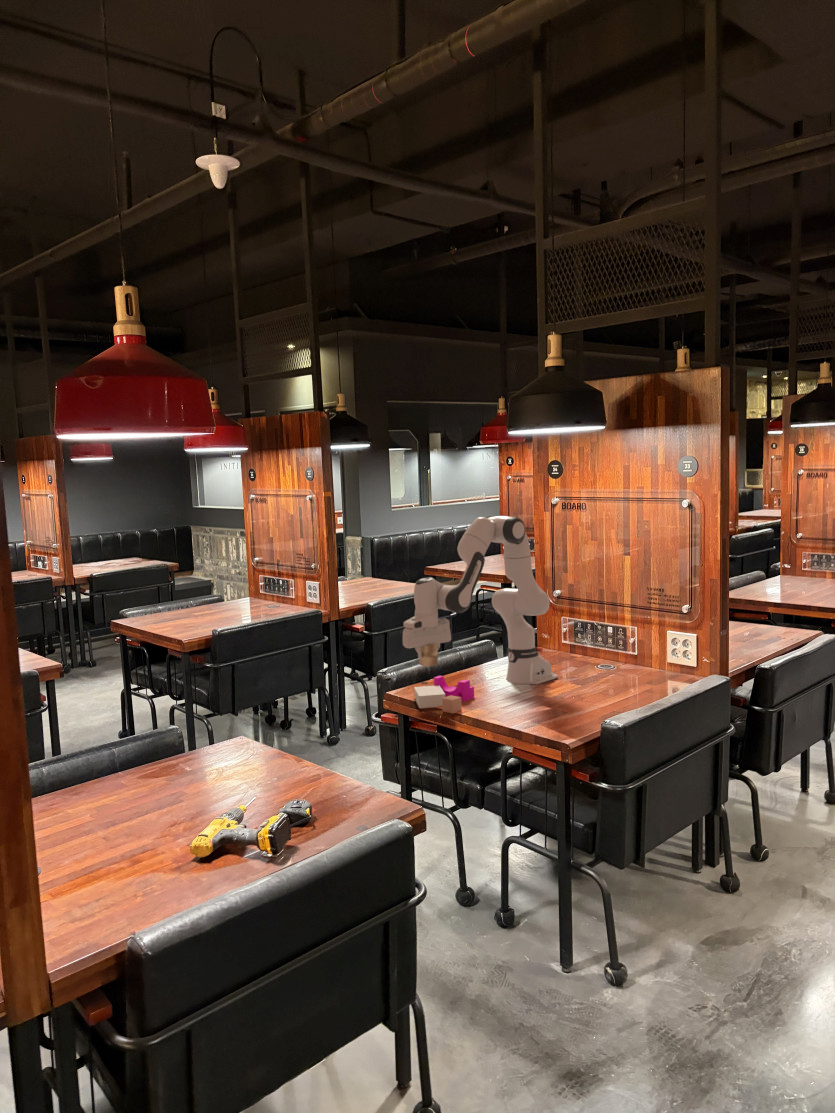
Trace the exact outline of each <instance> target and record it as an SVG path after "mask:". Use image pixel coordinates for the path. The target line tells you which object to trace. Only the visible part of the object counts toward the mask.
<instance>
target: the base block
mask: <svg viewBox="0 0 835 1113" xmlns="http://www.w3.org/2000/svg"><path fill="white" fill-rule="evenodd" d="M413 693H414V700H415V699H416V700H415V703H416V705H417V706H418V708H419V709H429V708H437V707H436V706H442V698H444V697H445V693H444V691H443V690H442V688H441V687H440V685H434V684H433V685H423V686H414V687H413Z"/></svg>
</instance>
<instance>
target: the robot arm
mask: <svg viewBox="0 0 835 1113" xmlns="http://www.w3.org/2000/svg"><path fill="white" fill-rule="evenodd" d="M529 542H530V541H529V538H528V534H527V533H526V525H525V523H524V521H523V520H522V519H521V518H519V517H516V516H508V515H497V516H491V515H489V516H485V517H484V516H480V517H476V518H475V519H474V520H473V521H472V523H471V524H470V525H468V527H467V529H466V530H465V531H464V533H463V535H462V537H461V538H460V540H459V541H458V545H457V548H456V549H457V553H458V556H459V558H460V559H461V560H462V561H463V562H464V563H466V568H465V570H464V573H463V575H462V577H461V579H460V581H459V582H458V583H457V584H456V585H450V584H446V583H445V584H444V583H442V582H439V581H438V580H436V579H435V578H433V577H423V578H420V579H418V580H417V581H416V582H415V583H414V590H413V601H414V602H413V603H414V606H415V609H414V616H412V617H410V618H409V619H407V620H405V621H404V622H403V624H402V625H403V627H404V628H403V630H402V646H403V647H404V648H406V649H413V648H414V650H415V651H416V653H417V658H418V659H419V658H424V656H423V655H424V653H421V651H420V649H421V646H424V645H430V644H437V656H439V652H438V651H439V649H440V647H441V644H444V643H450V642H451V640H452V634H451V633H452V632H451V628H450V627H451V623H450V620H449V619H447V618H446V617H444V618H439V611H438V610H443V611H449V612H452V613H456V614H462V613H464V612H466V611H468V610H469V608H470V606H471V603H472V599H473V595H474V591H475V590H476V589H475V588H476V586H477V584H478V581H479V579H480V577H481V575H482V574H481V573H482V572H483V568H484V566H485V561H486V560H485V559H486V558H485V555H486V553H487V550H488V548H489V546H490V545H491V543H497V544H502V545H503V559H504V560H503V561H504V574H505V576H506V577H507V579H508V580H510V581H511V582H512V583H514V585H515V586H516V588H515V587H514V588H512V587H505V588H501V589H497V590H496V591H495V592H494V593H493V595H492V597H491V605H492V607H493V609H494V610H495V611H496V613H498V615H500V617H501V618H502V620H503V622H504V624H505V626H506V631H507V638H508V639H507V640H508V641H507V642H508V647H507V660H508V664H507V672H506V678H505V681H506V680H507V682H508V683H510V682H511V683H510V684H517V685H540V684H542V683H545V682H548V681H552V680H555V679H557V678H558V674H556V673H554V672H553V671H552V670H553V669H552V666H551V664H550V662H549V661H548V660H546V659H545V658H543V657H542V656H541V655H540V654H539V653H542V652H543V651H544V648H543V647H540V646H536V645H535V644H536V643H535V642H536V639H535V638H536V635H535V629H534V627H533V626H532V625H531V624H529V623H528V622H527V621H526V619H525V618H524V616H529V617H530V616H531V617H532V616H533V617H534V616H542V615H545V614H546V613H547V611H549V608H550V603H551V602H550V597H549V595H548V593H546V591H544V590H543V589H542V588H541V587H540V586H539V584H538V583H537V581H536V579H535V577H534V574H533V568H532V567H533V566H532V558H531V557H532V556H531V555H532V553H531V547H530V543H529Z"/></svg>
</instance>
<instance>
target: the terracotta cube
mask: <svg viewBox="0 0 835 1113" xmlns="http://www.w3.org/2000/svg"><path fill="white" fill-rule="evenodd" d="M441 708H442V712H444V713H449V714H455V713H458V712H460V711H461V712H462V711H463V710H462V709H463V707H462V701H461V697H457V696H452V695H450V696H447V697H444V698H442V707H441Z"/></svg>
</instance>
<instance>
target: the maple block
mask: <svg viewBox="0 0 835 1113" xmlns="http://www.w3.org/2000/svg"><path fill="white" fill-rule="evenodd" d="M420 651H421V653H424V655H423V656H424V658H418V660H419V662H418V663H419V665H420V666H423V667H432V666H437V665H438V655H437V644H430V645H424V646H421V649H420Z"/></svg>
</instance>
